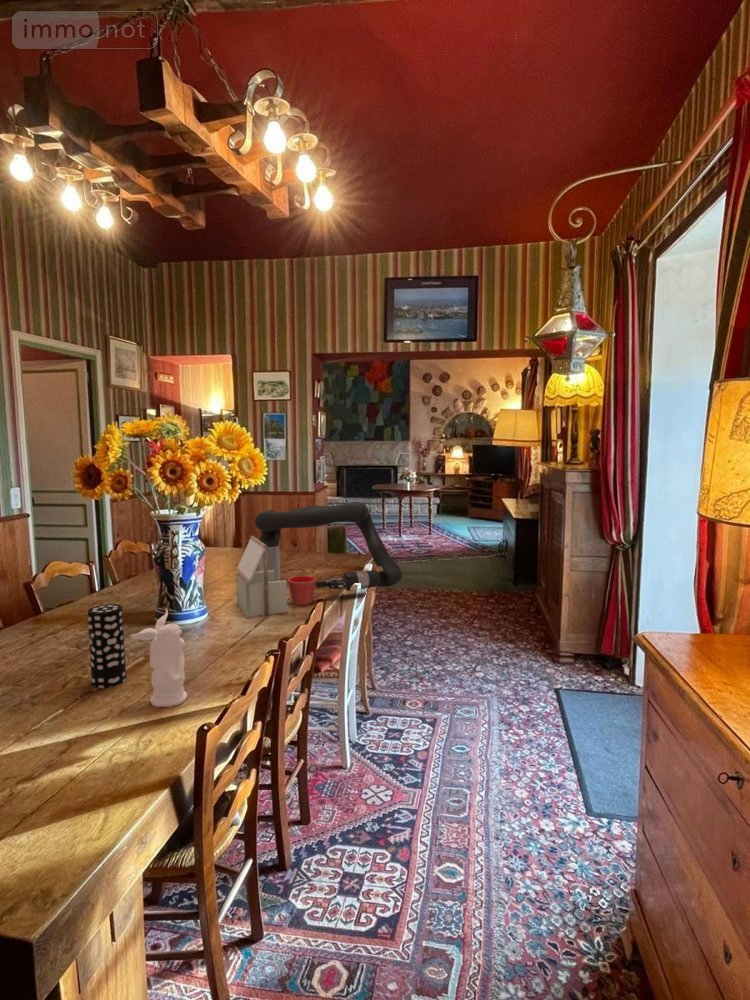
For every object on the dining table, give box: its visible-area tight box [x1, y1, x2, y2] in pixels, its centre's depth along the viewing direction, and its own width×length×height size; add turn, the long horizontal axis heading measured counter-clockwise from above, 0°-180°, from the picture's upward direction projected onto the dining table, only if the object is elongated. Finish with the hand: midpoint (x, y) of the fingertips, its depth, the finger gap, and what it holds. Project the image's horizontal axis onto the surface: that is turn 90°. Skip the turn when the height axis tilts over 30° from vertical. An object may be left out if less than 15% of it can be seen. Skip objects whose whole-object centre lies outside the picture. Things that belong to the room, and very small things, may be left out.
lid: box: [235, 535, 267, 584], centre depth 213 cm, size 23×15×1 cm
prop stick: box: [263, 553, 270, 617], centre depth 205 cm, size 1×1×24 cm
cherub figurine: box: [130, 607, 188, 708], centre depth 137 cm, size 12×12×22 cm
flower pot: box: [287, 575, 317, 606], centre depth 223 cm, size 11×11×10 cm
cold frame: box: [235, 570, 288, 618], centre depth 216 cm, size 20×15×12 cm
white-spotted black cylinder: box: [87, 603, 127, 689], centre depth 149 cm, size 8×8×20 cm
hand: (316, 585), depth 225 cm, fingers closed
